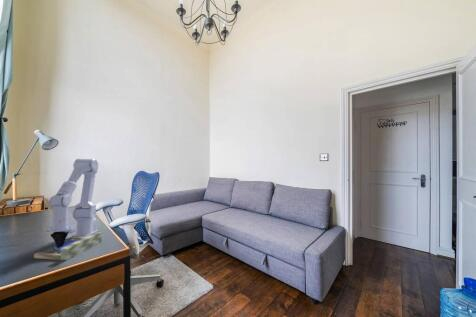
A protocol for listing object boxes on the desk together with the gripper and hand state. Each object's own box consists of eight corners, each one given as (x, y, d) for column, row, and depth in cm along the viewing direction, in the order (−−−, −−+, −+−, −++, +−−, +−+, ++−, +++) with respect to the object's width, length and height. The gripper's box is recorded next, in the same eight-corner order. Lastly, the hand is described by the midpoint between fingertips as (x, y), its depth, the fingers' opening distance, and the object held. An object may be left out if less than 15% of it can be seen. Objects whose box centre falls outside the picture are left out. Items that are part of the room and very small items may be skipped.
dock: (74, 239, 105) (74, 230, 105) (101, 241, 104) (101, 232, 104) (34, 258, 86) (34, 246, 86) (67, 260, 85) (67, 248, 85)
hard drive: (83, 245, 96) (74, 239, 103) (62, 252, 89) (54, 245, 96) (83, 249, 96) (74, 242, 103) (62, 255, 89) (54, 248, 96)
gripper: (38, 221, 92) (37, 249, 92) (65, 222, 91) (65, 251, 91) (53, 216, 99) (53, 243, 99) (79, 217, 98) (79, 244, 98)
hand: (60, 246), depth 95 cm, fingers closed
